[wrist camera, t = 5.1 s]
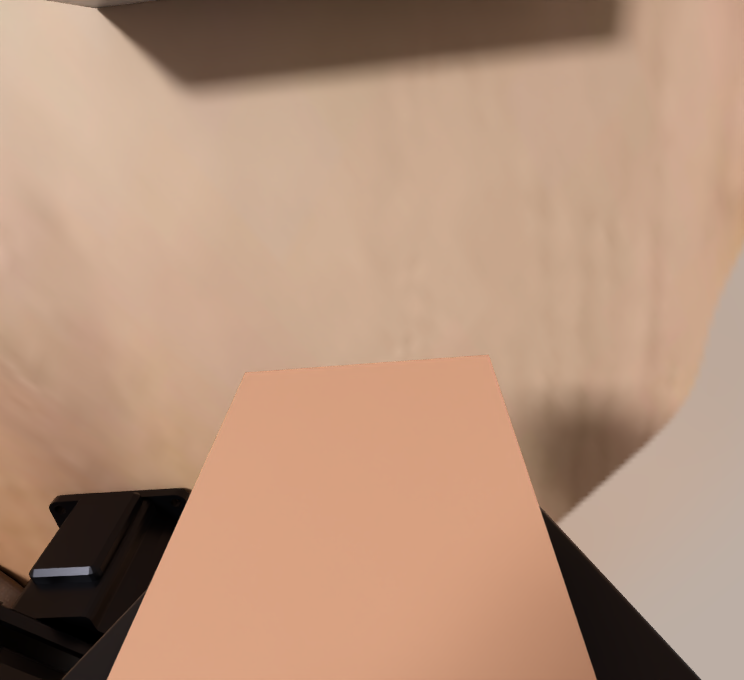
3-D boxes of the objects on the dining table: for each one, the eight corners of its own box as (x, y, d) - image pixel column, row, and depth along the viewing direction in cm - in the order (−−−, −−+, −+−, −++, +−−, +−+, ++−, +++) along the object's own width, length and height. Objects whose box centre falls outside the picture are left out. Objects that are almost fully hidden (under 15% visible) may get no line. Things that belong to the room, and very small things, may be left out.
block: (487, 530, 10) (634, 1230, 4) (287, 540, 11) (149, 1209, 4) (488, 354, 8) (757, 1159, 2) (244, 372, 9) (-97, 1130, 3)
